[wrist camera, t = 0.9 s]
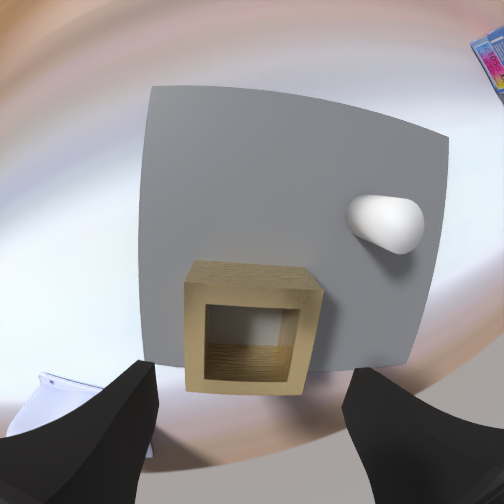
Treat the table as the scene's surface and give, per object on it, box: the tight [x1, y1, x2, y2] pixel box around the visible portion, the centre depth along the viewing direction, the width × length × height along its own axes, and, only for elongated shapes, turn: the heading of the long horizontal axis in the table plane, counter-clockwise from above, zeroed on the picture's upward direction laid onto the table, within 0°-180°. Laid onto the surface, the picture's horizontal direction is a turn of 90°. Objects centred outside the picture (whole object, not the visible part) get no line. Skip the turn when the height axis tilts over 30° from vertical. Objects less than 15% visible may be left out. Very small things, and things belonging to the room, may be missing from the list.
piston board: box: [138, 86, 449, 372], centre depth 14 cm, size 18×16×5 cm
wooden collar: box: [184, 260, 324, 396], centre depth 14 cm, size 6×6×4 cm
